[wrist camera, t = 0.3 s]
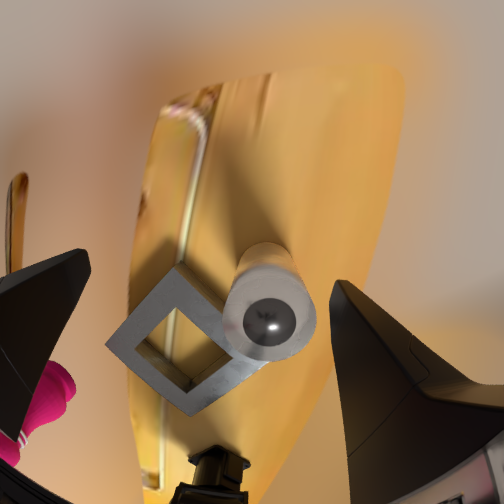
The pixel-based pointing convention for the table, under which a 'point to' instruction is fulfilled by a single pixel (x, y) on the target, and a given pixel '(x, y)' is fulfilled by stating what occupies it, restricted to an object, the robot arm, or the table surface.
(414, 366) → the robot arm
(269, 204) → the table surface
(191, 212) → the table surface
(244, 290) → the ring
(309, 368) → the table surface
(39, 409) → the pepper mill
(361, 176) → the table surface
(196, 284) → the jig
